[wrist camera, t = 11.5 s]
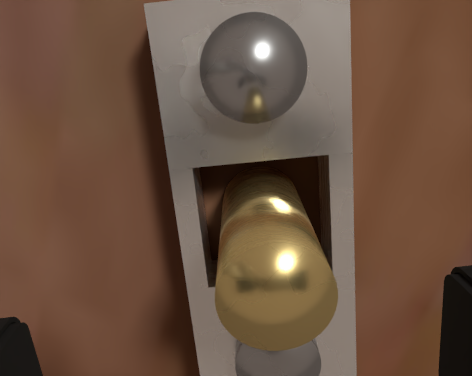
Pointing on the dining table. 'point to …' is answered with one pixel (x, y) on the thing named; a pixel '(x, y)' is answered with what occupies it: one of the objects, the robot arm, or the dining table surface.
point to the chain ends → (258, 147)
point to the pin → (271, 265)
